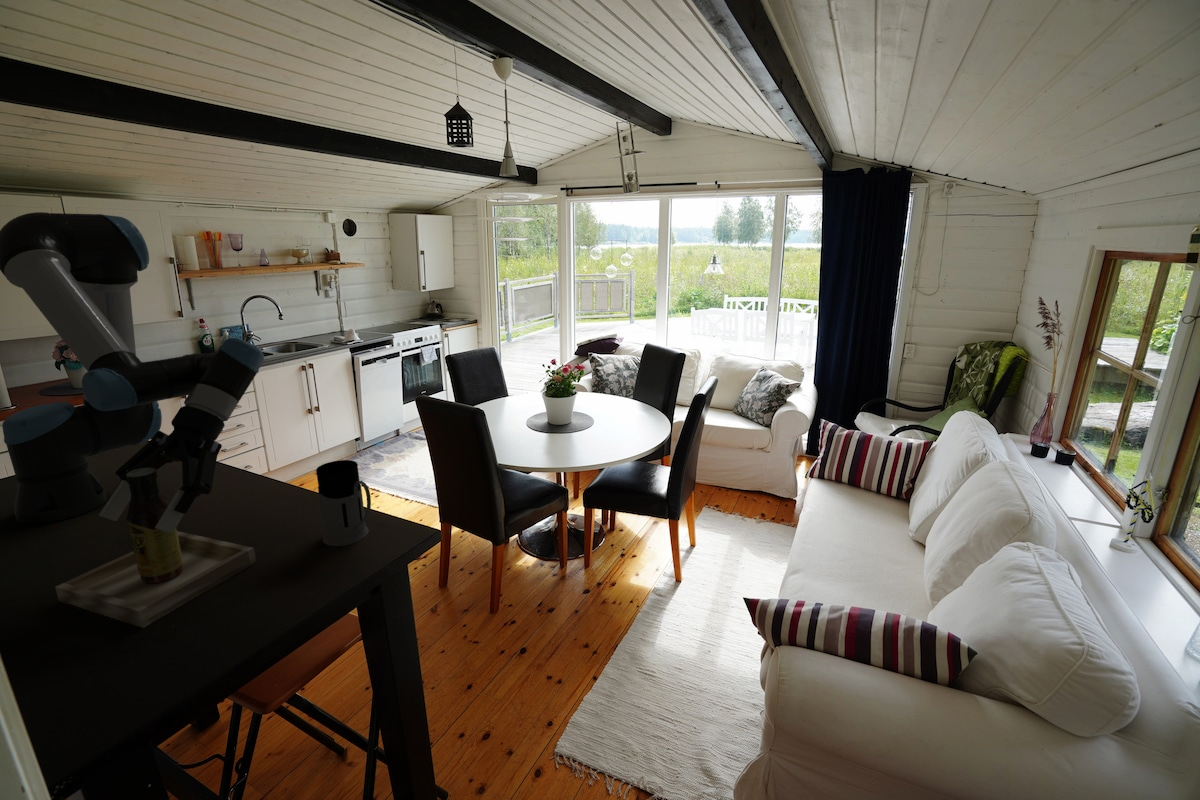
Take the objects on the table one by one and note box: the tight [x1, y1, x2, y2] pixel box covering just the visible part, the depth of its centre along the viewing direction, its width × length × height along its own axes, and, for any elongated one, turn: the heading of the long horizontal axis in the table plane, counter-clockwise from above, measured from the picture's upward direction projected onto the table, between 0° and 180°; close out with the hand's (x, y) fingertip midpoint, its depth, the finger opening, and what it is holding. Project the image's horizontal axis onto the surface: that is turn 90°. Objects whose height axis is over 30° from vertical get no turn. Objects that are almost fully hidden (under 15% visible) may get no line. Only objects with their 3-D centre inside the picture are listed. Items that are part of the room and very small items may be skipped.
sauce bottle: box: [126, 468, 183, 584], centre depth 97 cm, size 6×6×20 cm
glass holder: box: [315, 459, 372, 547], centre depth 112 cm, size 9×14×15 cm, turn 56°
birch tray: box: [54, 530, 257, 629], centre depth 100 cm, size 20×20×3 cm
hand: (134, 524), depth 95 cm, fingers open, 13 cm apart
